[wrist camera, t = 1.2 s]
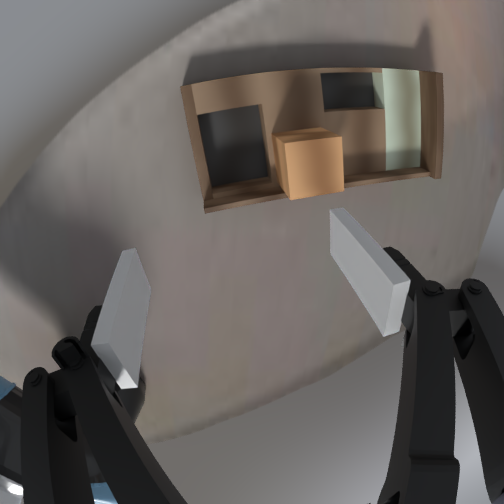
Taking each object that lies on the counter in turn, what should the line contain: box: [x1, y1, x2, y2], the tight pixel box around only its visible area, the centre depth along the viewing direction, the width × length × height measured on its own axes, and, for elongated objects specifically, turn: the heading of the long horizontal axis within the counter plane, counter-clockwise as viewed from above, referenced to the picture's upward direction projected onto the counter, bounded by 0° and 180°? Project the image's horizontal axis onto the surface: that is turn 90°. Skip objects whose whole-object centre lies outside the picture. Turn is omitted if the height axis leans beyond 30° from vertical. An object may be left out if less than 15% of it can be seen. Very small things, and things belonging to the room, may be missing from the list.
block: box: [271, 127, 344, 200], centre depth 27 cm, size 5×5×5 cm
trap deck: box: [180, 68, 444, 213], centre depth 28 cm, size 26×12×6 cm, turn 98°
